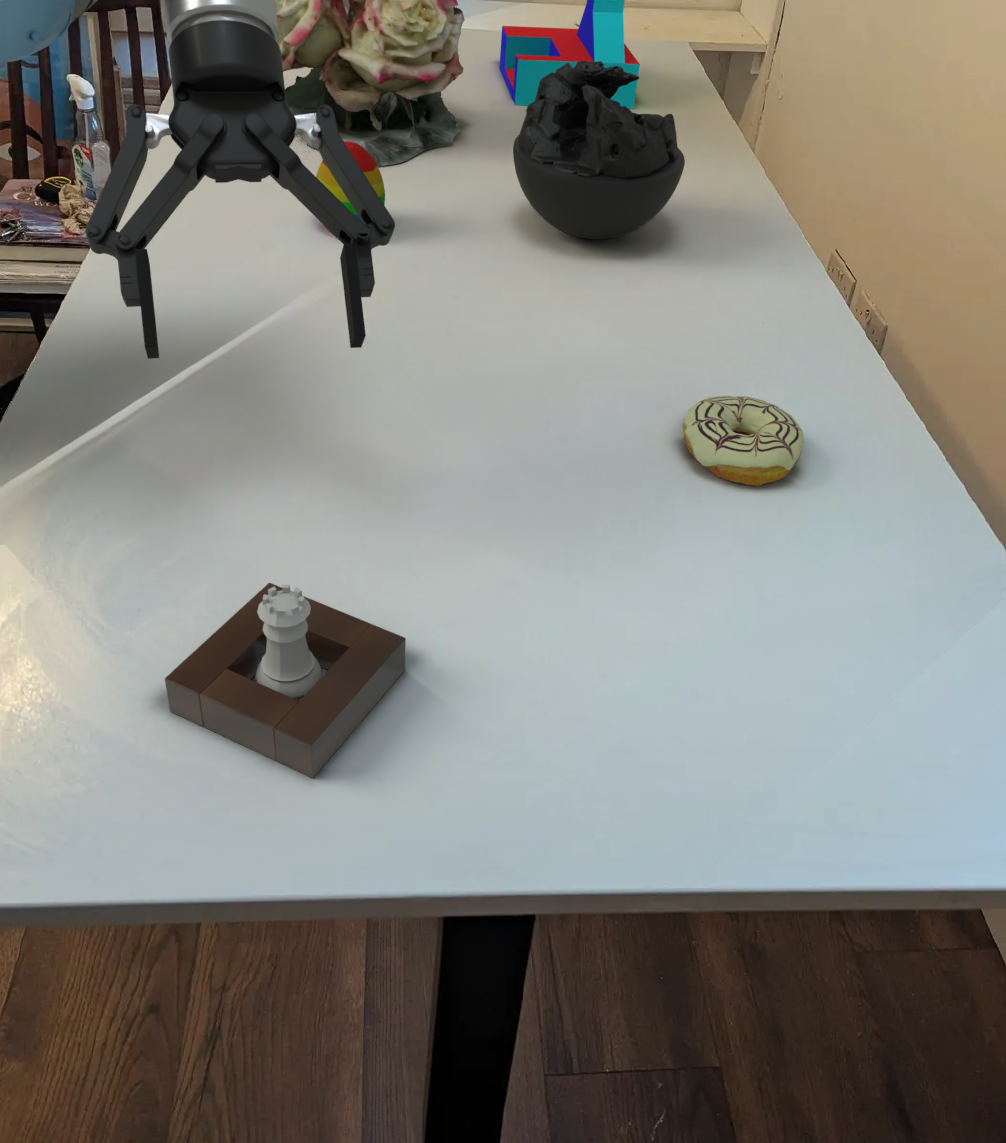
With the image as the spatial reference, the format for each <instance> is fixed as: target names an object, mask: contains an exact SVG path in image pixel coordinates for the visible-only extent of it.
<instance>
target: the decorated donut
mask: <svg viewBox="0 0 1006 1143" xmlns="http://www.w3.org/2000/svg"><path fill="white" fill-rule="evenodd" d="M681 426H682V434H683V440H684V443H685V446H686V447H687V450H688V451H689V454H691V455H692V456H693V458H694V459H695V460H696V461H697V462H698V463H699V464H700V465H702V466H703V467H704V468H706V469H707V470H709V471H710V472H711V473H712V474H713V475H714V476H715V477H716V478H722V479H724V480H726V481H730V482H733V483H739V484H743V485H745V486H746V485H747V486H754V487H759V486H762V485H764V484H769V483H774V482H776V481H779V480H782V479H784V478H786V477H787V475H788V474H789V473H790V472H791V471H792V469H793V468H794V466H795V465H796V463H797V461H798V459H799V458H800V457H801V455H802V452H803V449H804V448H803V447H804V443H805V438H804V432H803V429H802V428H801V426H800V424H799V423H798V422H797V420H796V419H795V418H794V416H793V415H792V414H790V413H789V412H787V411H786V410H784V409H783V408H780V407H779V406H777V405H775V404H773V403H770V402H768V401H766V400H763V399H759V398H754V397H750V396H745V395H744V396H743V395H736V396H735V395H733V396H732V395H718V396H708V397H705V398H704V399H702V400H699V401H696V403H695V404H693V405H692V406H691V407H690V409H689V410H688V412H687V413H686V414H685V415H684V416H683V422H682V425H681Z"/></svg>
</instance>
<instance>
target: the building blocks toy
mask: <svg viewBox="0 0 1006 1143" xmlns="http://www.w3.org/2000/svg"><path fill="white" fill-rule="evenodd" d="M625 1H626V0H586V2H585V3H586V4H585V7H584V10H583V13H582V16H581V18H580V19H581V20H580V23H579V25H578V28H569V27H568V28H566V27H565V28H564V27H540V26H521V25H520V26H518V25H502V26H501V37H500V38H501V39H500V56H499V71H500V73H501V75H502V78H503V80H504V83H505V85H506V88H507V90H508V93H509V95H510V97H511V101H512V102H513V104H514V106H528V105H530V104H531V103H533V102H534V101H535V98H536V95H537V90H538V87H539V82H540V80H541V79H542V78H543V77H545V76H546V75H548V74H550V73H552V72H553V73H555V72H556V70H557V69H558V68H560V67H562V66H563V65H565V64H566V63H569V64H570V65H571V67H572V68H574V67H575V66H576V64H577V62H579V61H587V62H598V61H601V62H603V65H604V68H608V67H611V66H612V67H613V66H620V67H622V68H623V69H624V71H625V72H626V73H632V74H634V75H636V76H639V73H640V66H641V65H640V63H639V61H638V59H636V57H635V56H634V54H633V53H632V52H631V50H630V49H629V48H628V46H627V45H626V43H625V31H624V28H625V27H624V25H625V24H624V9H625ZM638 80H639V79H638ZM638 80H636V81H633V82H630V83H629V84H628V85H624V86H621V87H619V88H618V90H617V92H616V93H615V94H614V96H613V97H612V98H611V100H614V101H617V102H619V103H620V106H626V107H627V108H628V109H629V110H631V109H632V110H634V109H635V102H636V95H637V88H638Z"/></svg>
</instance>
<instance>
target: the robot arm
mask: <svg viewBox="0 0 1006 1143" xmlns="http://www.w3.org/2000/svg"><path fill="white" fill-rule="evenodd" d="M98 1H99V0H0V63H12V62H16V61H17V62H18V61H20V60H23V59H26V58H28V57H30V56H31V55H33V54H36V53H37V52H40V51H42V50H43V49H45V48H48V47H51V45H53V44H54V43H55V42H56V41H57V39H59V38H61V37H63V36H64V34H65V33H66V32H67V30H68V28H69V27H70V25H72V23H73V22H74V21H75V20H76V19H77V18H79V17H80V16H82V15H83V14H84V13H86V12H87V11H88V10H89V9H90V8H91V7H92V6H93V5H95V3H97V2H98ZM162 4H163V13H164V22H165V31H166V38H167V41H168V43H169V47H168V59H169V67H170V70H169V71H170V79H171V88H172V89H171V90H172V97H173V107H172V110H171V112H170V114H165V113H164V114H162V113H155V112H154V113H152V112H146V109H145V108H144V106H142V105H141V104H138V103H132V104H131V105H129V106H128V107H127V110H126V124H125V125H126V127H125V128H126V129H125V130H126V131H125V132H126V134H125V138H124V141H123V142H122V144H121V147H120V149H119V151H118V154H117V156H116V158H115V160H114V162H113V165H112V167H111V170H110V171H109V174H108V176H107V179H106V181H105V183H104V185H103V188H102V190H101V192H100V195H99V197H98V199H97V201H96V204H95V205H94V208H93V210H92V212H91V215H90V217H89V220H88V221H87V224H86V227H85V231H84V232H85V235H86V238H87V242H88V246H89V249H90V250H91V251H92V252H93V253H94V254H97V255H102V254H104V255H108V256H111V257H113V258H115V260H117V265H118V275H119V285H120V293H121V294H120V295H121V297H122V302H124V304H125V306H126V307H127V308H134V307H135V308H137V307H140V314H141V324H142V332H143V343H144V350H145V353H146V358H147V359H149V360H150V359H160V350H159V341H158V331H157V330H158V329H157V322H156V311H155V301H154V293H153V291H154V290H153V283H152V274H151V273H152V272H151V263H150V259H149V253H148V252H149V251H148V249H147V246H148V245H149V244H150V242H151V241H152V240H153V238H154V237H155V236H156V235H157V233H158V232H159V231H160V230H161V228H162V227H163V226H164V225H165V224H166V222H167V221H168V220H169V218H170V217H171V216H172V214H173V213H174V212H175V211H176V210H177V208H178V207H179V206H180V204H181V203H182V202H183V200H184V199H185V198H186V197H187V196H188V194H189V193H190V192H193V191H194V190H195V189H196V187H197V186H198V185H199V184H200V182H201V181H202V180H203V178H204V177H207V178H208V179H212V180H214V181H215V183H216V184H217V183H219V184H220V183H221V184H222V183H224V184H225V183H226V184H227V183H230V182H235V181H238V180H239V181H243V182H248V183H262V180H263V179H265V178H267V177H271V178H272V179H273V181H275V182H276V183H277V184H278V185H279V186H280V187H281V188H282V189H284V190H286V191H287V190H288V191H289V192H290V194H291V195H293V197H295V198H296V199H297V201H298V202H300V203H301V205H303V206H304V207H305V208H306V209H307V210H308V211H309V212H310V214H312V215H313V216H314V217H315V218H316V219H317V220H318V221H319V222H320V223H321V224H322V225H323V226H324V227H325V229H326V230H327V231H328V232H329V233H331V234H332V235H333V236H334V237H335V238H336V239H337V240H338V241H339V242H340V243H341V244H342V250H341V253H340V256H339V259H340V260H339V261H340V269H341V277H342V287H343V293H344V294H343V295H344V303H345V312H346V322H347V330H348V337H349V338H348V339H349V347H350V349H356V348H357V349H358V348H359V349H360V348H362V346H363V344H364V341H365V339H366V336H367V335H366V327H365V319H364V318H365V317H364V310H363V309H364V308H363V302H362V300H363V299H362V298H371V297H372V294H373V291H374V287H375V284H376V282H375V280H376V279H375V272H374V263H373V262H374V261H373V255H372V250H373V249H374V248H377V247H380V246H382V247H383V246H387V245H388V244H389V243H390V242H391V238H392V236H393V234H394V231H395V228H396V222H395V220H394V218H393V216H392V215H391V213H390V212H389V210H388V209H387V207H386V206H385V205H384V204H383V203H382V201H381V199H380V198H379V196H378V195H377V193H376V192H375V190H374V188H373V187H372V185H371V184H370V182H369V181H368V179H367V177H366V176H365V174H364V173H363V171H362V170H361V168H360V166H359V165H358V163H357V162H356V160H355V159H354V157H353V155H352V154H351V152H350V151H349V149H348V148H347V146H346V144H345V143H344V141H343V140H342V138H341V137H340V135H339V131H338V127H337V122H336V118H335V114H334V111H333V109H332V108H331V107H330V106H329V105H325V104H323V105H320V106H319V107H318V109H317V112H316V113H309V114H300V115H293V113H292V112H291V110H290V109H289V107H288V105H287V101H286V94H285V89H286V87H285V78H284V72H283V68H282V59H281V51H280V47H279V45H278V38H279V31H278V23H277V14H276V6H275V0H162ZM166 136H170V138H171V139H172V141H173V142H174V143H175V144H176V146H178V147H179V149H180V151H179V152H178V154H176V156H175V158H174V161H173V164H172V165H171V166H170V167H169V169H168V170H167V172H165V174H164V175H163V177H162V178H161V179H160V180H159V181H158V183H157V184H156V185H155V187H154V188H153V189H152V190H151V192H150V193H148V195H147V196H146V198H145V199H144V201H143V202H142V203H141V204H140V205H139V206H138V208H137V209H136V210H135V212H134V213H133V214H132V215H131V217H130V218H129V219H128V220H127V222H126V223H125V224H124V226H123V227H122V228H121V229H120V231H117V230H118V228H119V225H120V223H121V220H122V218H123V216H124V214H125V211H126V209H127V207H128V205H129V202H130V200H131V198H132V195H133V192H134V190H135V188H136V185H137V183H138V181H139V179H140V177H141V174H142V172H143V170H144V167H145V165H146V163H147V158H148V154H149V153H148V152H149V150H154V149H156V148H157V147H159V145H160V142H161V140H162V139H163V138H164V137H166ZM296 136H301V137H303V138H304V139H305V140H306V142H308V144H309V145H310V146H309V147H311V146H312V147H313V149H316V148H319V150H318V151H319V154H320V156H321V159H322V160H323V161H324V162H325V164H326V166H327V167H328V169H329V171H330V172H331V174H332V175H333V177H334V178H335V180H336V181H337V183H338V185H339V186H340V188H341V189H342V191H343V192H344V194H345V196H346V197H347V199H348V200H349V202H350V203H351V205H352V207H353V208H354V210H355V211H356V213H357V214H358V216H359V217H360V219H361V221H362V222H363V223H362V222H361V221H360V220H359V219H358V218H357V217H356V216H355V215H354V214H353V213H352V212H351V211H350V210H349V209H348V208H347V207H346V206H345V205H344V204H343V203H342V202H341V201H340V200H339V199H338V198H337V197H336V196H335V195H334V194H333V193H332V192H331V191H330V190H329V189H328V188H327V187H326V186H325V185H324V184H323V183H321V182H320V181H319V180H318V179H317V178H316V175H314V173H313V172H311V171H310V170H309V168H308V167H307V166H306V165H305V164H304V163H303V162H302V160H301V159H300V157H299V155H298V154H297V153H296V152H295V151H294V150H293V149H292V148H291V144H293V141H294V140H295V138H296ZM312 147H311V148H312Z"/></svg>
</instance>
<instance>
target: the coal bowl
mask: <svg viewBox="0 0 1006 1143" xmlns="http://www.w3.org/2000/svg"><path fill="white" fill-rule="evenodd" d="M639 79H640V76H639V75H638V76H636V75H634V74H632V73H626V72H625V71H624V69H623V68H622V67H620V66H613V67H612V66H611V67H608V68H604V65H603V62H601V61H598V62H587V61H579V62H577V64H576V66H575V67H574V68H572V67H571V65H570V64H569V63H566V64H565V65H563V66H562V67H560V68H558V69H557V70H556V72H555V73H553V72H552V73H550V74H548V75H546V76H545V77H543V78H542V79H541V80H540V82H539V87H538V90H537V95H536V98H535V101H534V102H533V103H531V104H530V105H526V106H527V107H526V109H525V110H526V112H525V117H524V119H523V123H522V125H521V128H520V131H519V133H518V135H517V136H516V138H515V139H514V141H513V145H512V155H513V165H514V169H515V174H516V178H517V180H518V183H519V186H520V188H521V190H522V192H523V194H524V197H525V198H526V199H527V201H528V203H529V204H530V206H531V207H532V208H533V210H534V211H535V212H536V213H537V214H538V215H539V216H540V217H541V218H542V219H543V220H544V221H545V222H547V223H548V224H549V225H551V226H552V227H554V228H555V229H558V230H559V231H561V232H563V233H565V234H568V235H570V236H573V237H577V238H581V239H587V240H606V239H607V240H608V239H613V238H618V237H621V236H625V235H628V234H629V233H631V232H634V231H636V230H638V229H640V228H642V227H643V226H645V225H646V224H647V223H649V222H650V221H651V220H653V219H654V218H655V217H656V216H657V215H658V214H659V213H660V212H661V211H662V210H663V208H664V207H665V206H666V205H667V203H668V202H669V201H670V199H671V198H672V196H673V195H674V193H675V191H676V190H677V188H678V185H679V183H680V180H681V178H682V175H683V173H684V168H685V165H686V164H685V163H686V160H685V154H683V152H682V150H681V149H680V148H679V147H678V140H677V137H678V136H677V129H676V123H675V118H674V115H673V114H672V113H667V114H666V115H664V116H663V115H661V114H658V113H636V112H632V110H631V109H628V108H627V107H626V106H620V103H619V102H617V101H614V100H611V98H612V97H613V96H614V94H615V93H616V92H617V90H618V88H619V87H621V86H624V85H628V84H629V83H630V82H633V81H636V80H639Z"/></svg>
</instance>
